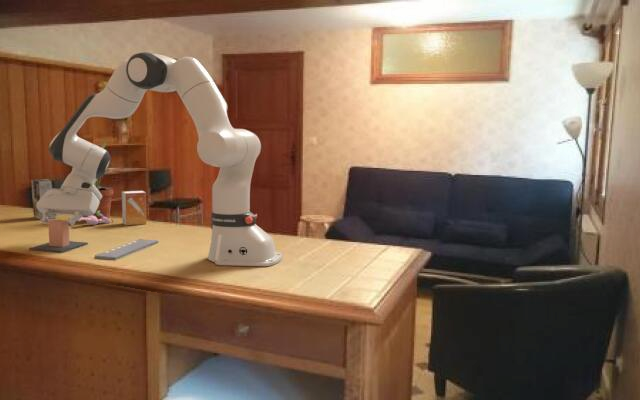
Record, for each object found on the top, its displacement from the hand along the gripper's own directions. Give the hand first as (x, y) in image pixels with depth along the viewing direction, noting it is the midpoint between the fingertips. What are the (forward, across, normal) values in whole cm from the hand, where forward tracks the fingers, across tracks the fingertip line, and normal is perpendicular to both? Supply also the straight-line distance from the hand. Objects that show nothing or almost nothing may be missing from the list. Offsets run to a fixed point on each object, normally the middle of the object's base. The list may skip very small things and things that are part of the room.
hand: (56, 223), depth 164 cm
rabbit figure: (-20, -13, +32) cm, 40 cm away
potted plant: (-27, -20, +38) cm, 51 cm away
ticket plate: (+3, +23, +8) cm, 25 cm away
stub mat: (+5, 0, +6) cm, 8 cm away
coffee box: (-25, -42, +37) cm, 61 cm away
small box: (-25, 0, +37) cm, 44 cm away
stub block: (+5, 0, +6) cm, 7 cm away
